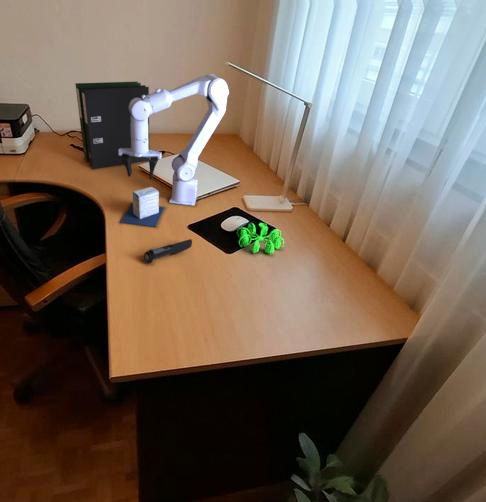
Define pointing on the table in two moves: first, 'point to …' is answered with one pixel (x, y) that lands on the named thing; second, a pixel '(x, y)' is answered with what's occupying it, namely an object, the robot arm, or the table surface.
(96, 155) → the binder
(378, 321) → the table surface
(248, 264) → the table surface
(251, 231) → the green cluster
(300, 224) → the table surface
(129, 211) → the cloth
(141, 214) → the medicine box
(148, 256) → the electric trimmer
